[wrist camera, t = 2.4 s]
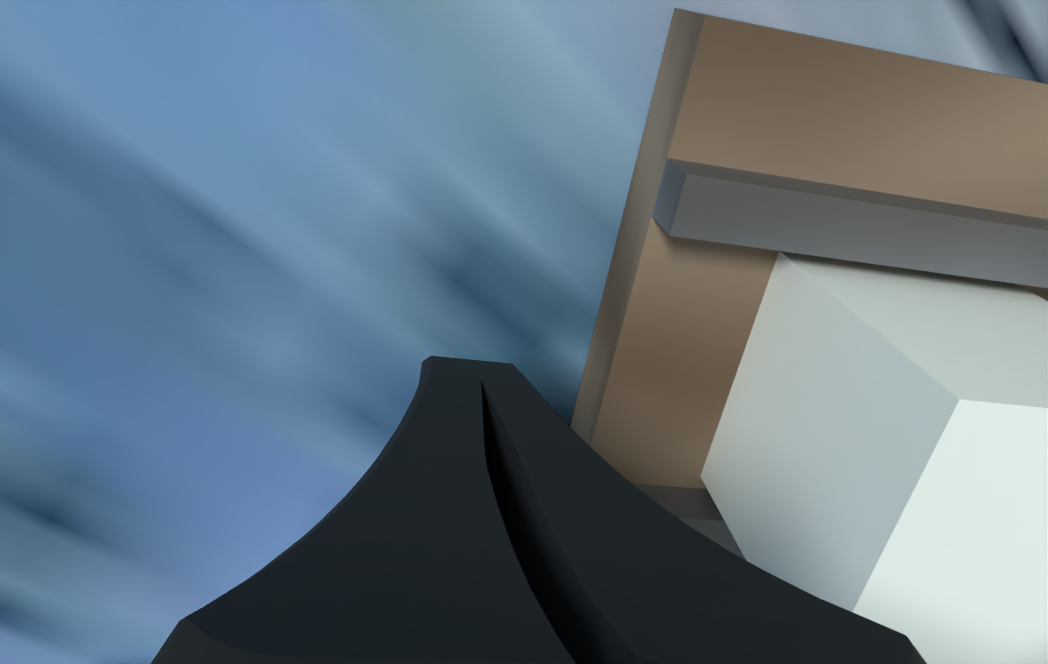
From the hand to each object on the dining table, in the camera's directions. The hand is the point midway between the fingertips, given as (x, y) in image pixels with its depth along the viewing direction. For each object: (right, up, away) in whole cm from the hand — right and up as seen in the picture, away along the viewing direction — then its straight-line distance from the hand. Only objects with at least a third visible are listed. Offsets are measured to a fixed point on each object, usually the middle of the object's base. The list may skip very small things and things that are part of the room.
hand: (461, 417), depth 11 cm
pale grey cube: (+7, 0, +4) cm, 8 cm away
